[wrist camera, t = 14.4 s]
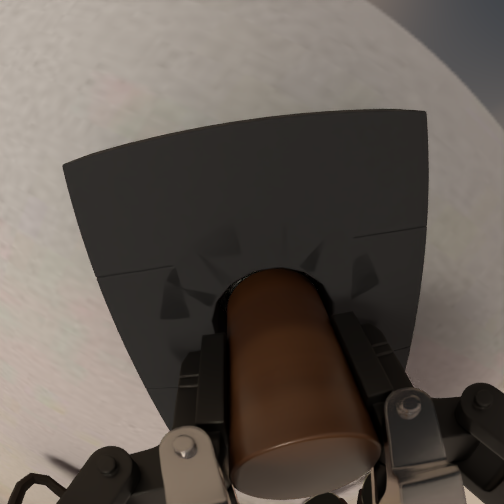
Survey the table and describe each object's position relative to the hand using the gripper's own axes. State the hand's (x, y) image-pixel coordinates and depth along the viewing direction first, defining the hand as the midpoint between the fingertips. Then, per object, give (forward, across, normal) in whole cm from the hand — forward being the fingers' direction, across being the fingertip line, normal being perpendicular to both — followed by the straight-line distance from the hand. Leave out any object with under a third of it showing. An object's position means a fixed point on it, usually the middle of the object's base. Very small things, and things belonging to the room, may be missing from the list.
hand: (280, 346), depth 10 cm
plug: (+2, 0, 0) cm, 2 cm away
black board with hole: (+4, 0, 0) cm, 4 cm away
